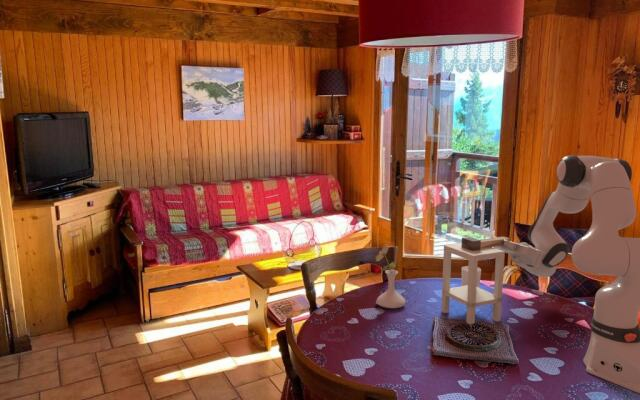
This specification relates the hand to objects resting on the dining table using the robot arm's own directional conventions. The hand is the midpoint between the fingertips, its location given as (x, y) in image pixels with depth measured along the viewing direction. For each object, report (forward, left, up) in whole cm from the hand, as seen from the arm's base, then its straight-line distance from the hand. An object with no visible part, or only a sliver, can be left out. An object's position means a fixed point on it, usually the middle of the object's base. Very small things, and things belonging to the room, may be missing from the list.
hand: (499, 240), depth 185 cm
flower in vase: (+21, +34, -28) cm, 49 cm away
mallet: (0, +6, -2) cm, 6 cm away
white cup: (+21, -6, -28) cm, 35 cm away
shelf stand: (0, +12, -28) cm, 30 cm away
